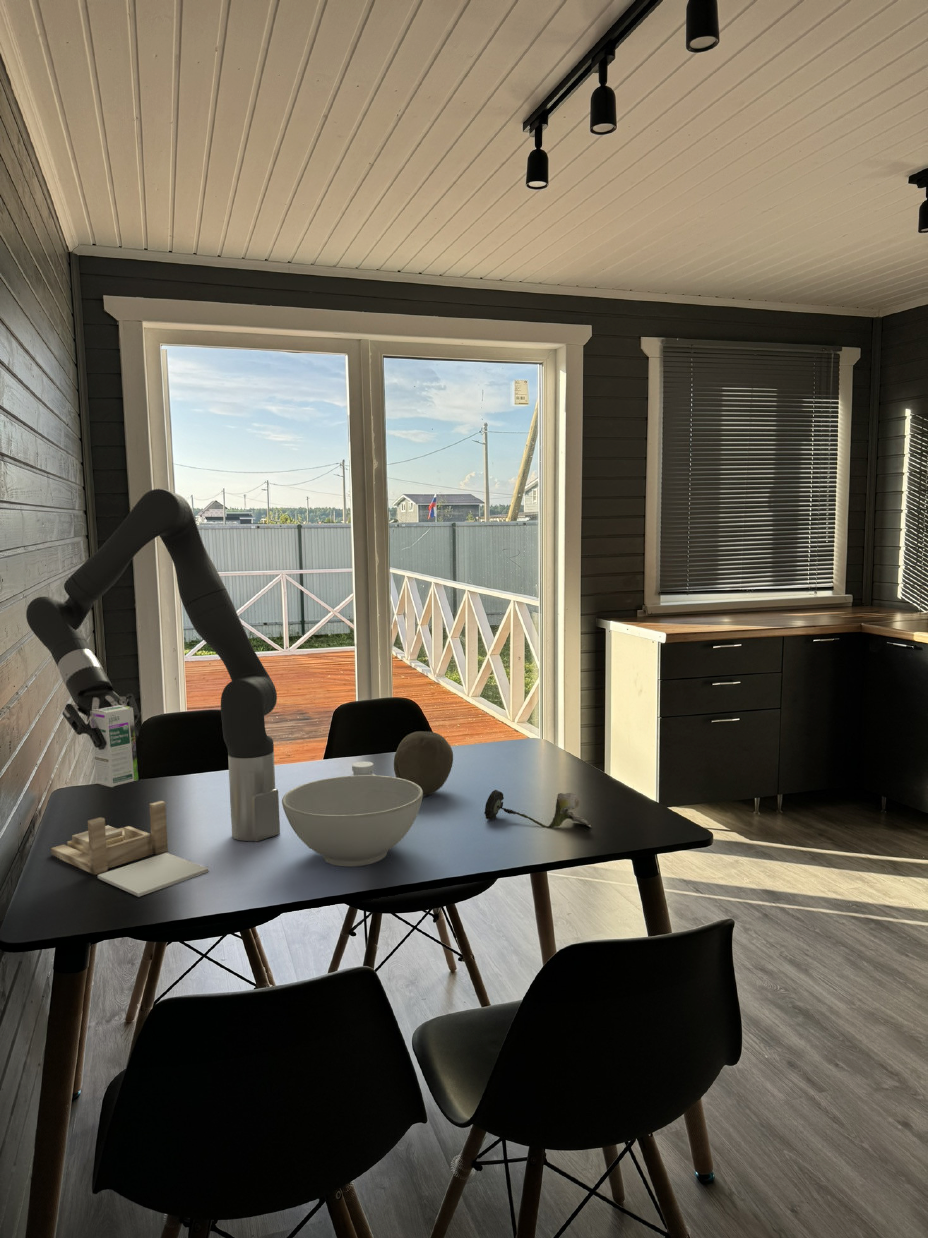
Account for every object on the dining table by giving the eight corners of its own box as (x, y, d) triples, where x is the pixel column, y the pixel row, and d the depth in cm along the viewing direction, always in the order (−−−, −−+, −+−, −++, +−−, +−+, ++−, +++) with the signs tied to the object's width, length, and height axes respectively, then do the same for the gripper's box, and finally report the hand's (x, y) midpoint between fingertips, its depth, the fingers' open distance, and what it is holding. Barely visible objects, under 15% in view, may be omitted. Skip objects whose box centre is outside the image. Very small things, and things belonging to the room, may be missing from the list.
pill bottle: (343, 818, 187) (341, 766, 186) (360, 809, 193) (358, 759, 192) (368, 822, 184) (366, 769, 183) (384, 813, 190) (382, 762, 189)
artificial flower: (497, 818, 189) (506, 774, 190) (592, 845, 178) (602, 798, 179) (480, 819, 181) (489, 773, 182) (578, 847, 170) (588, 798, 171)
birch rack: (167, 851, 169) (165, 802, 168) (94, 875, 157) (91, 822, 156) (123, 834, 179) (120, 788, 179) (51, 855, 168) (48, 806, 167)
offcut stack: (127, 845, 173) (126, 830, 172) (84, 858, 166) (83, 843, 166) (109, 838, 177) (108, 824, 177) (66, 851, 170) (65, 836, 170)
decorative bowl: (257, 857, 165) (254, 795, 164) (367, 823, 183) (365, 768, 182) (340, 895, 146) (337, 826, 144) (453, 853, 164) (451, 791, 163)
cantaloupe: (448, 803, 196) (446, 739, 194) (388, 802, 198) (386, 738, 197) (458, 786, 210) (456, 726, 208) (402, 785, 212) (400, 725, 211)
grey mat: (208, 871, 158) (208, 868, 157) (138, 897, 147) (138, 893, 147) (166, 855, 166) (166, 852, 166) (97, 878, 156) (97, 875, 155)
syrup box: (111, 787, 160) (106, 712, 159) (94, 783, 164) (89, 708, 162) (138, 780, 165) (134, 706, 163) (122, 776, 168) (117, 703, 167)
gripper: (53, 669, 161) (88, 739, 155) (124, 660, 173) (160, 724, 166) (42, 694, 165) (76, 763, 159) (113, 684, 176) (147, 748, 170)
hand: (119, 743), depth 162 cm, fingers closed on syrup box, 5 cm apart
